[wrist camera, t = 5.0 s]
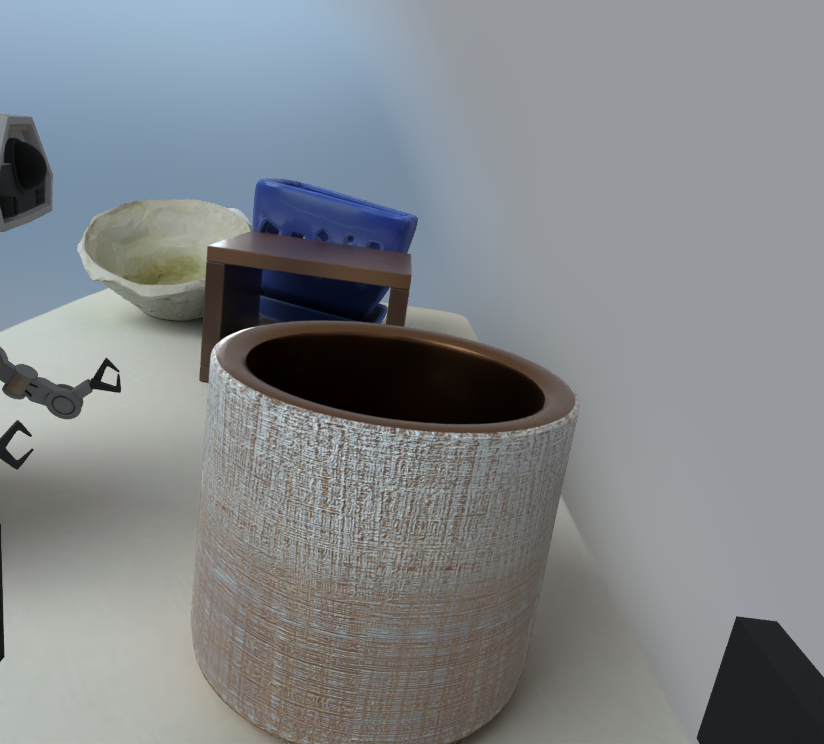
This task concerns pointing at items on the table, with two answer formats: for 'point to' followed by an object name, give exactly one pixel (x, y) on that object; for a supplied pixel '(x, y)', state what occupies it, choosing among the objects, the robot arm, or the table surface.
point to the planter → (373, 528)
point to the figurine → (11, 207)
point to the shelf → (254, 251)
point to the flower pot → (330, 222)
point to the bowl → (158, 252)
